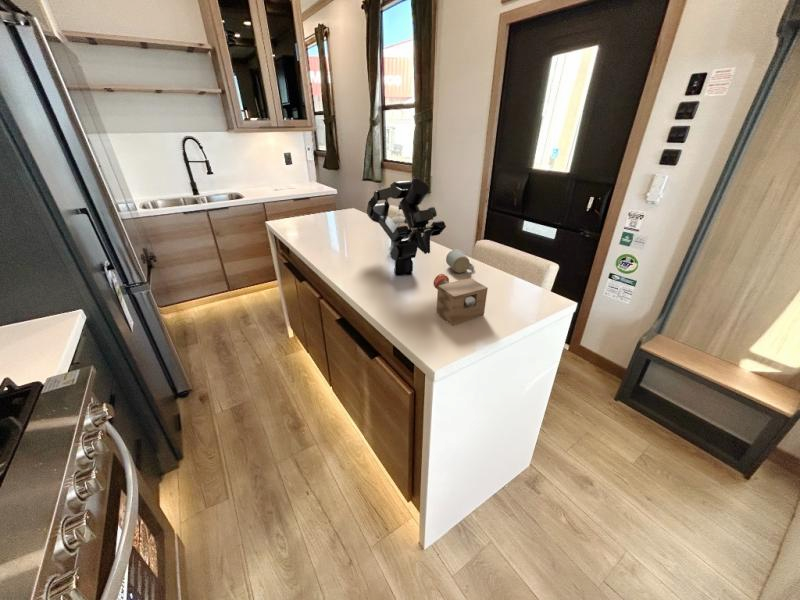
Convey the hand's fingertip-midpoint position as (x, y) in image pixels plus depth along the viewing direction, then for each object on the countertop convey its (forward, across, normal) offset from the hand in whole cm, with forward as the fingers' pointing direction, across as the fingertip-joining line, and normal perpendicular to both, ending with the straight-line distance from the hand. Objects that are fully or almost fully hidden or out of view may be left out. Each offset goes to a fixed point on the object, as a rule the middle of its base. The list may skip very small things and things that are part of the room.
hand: (427, 253), depth 107 cm
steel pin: (+18, 0, -5) cm, 19 cm away
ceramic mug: (+3, +22, +16) cm, 28 cm away
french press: (-22, +12, +42) cm, 49 cm away
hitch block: (+24, 0, -4) cm, 24 cm away
